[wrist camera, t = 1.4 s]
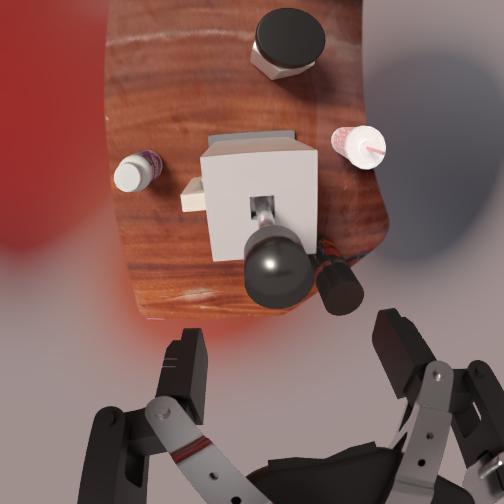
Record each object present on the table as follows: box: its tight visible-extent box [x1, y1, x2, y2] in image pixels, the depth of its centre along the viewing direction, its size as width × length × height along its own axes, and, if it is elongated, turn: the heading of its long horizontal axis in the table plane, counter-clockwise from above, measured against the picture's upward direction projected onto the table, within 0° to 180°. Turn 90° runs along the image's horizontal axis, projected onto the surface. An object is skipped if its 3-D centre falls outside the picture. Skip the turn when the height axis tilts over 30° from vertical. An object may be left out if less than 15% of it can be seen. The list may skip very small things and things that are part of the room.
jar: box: [250, 8, 325, 80], centre depth 30 cm, size 9×8×12 cm
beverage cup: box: [331, 126, 386, 169], centre depth 36 cm, size 6×6×14 cm
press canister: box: [180, 130, 318, 261], centre depth 36 cm, size 13×15×18 cm
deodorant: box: [307, 235, 364, 316], centre depth 45 cm, size 6×6×15 cm
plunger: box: [244, 195, 314, 309], centre depth 23 cm, size 8×8×16 cm
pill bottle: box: [114, 150, 162, 192], centre depth 38 cm, size 5×5×10 cm
